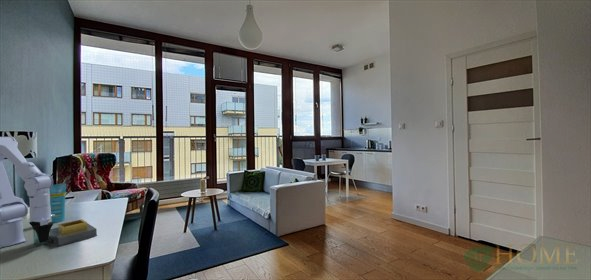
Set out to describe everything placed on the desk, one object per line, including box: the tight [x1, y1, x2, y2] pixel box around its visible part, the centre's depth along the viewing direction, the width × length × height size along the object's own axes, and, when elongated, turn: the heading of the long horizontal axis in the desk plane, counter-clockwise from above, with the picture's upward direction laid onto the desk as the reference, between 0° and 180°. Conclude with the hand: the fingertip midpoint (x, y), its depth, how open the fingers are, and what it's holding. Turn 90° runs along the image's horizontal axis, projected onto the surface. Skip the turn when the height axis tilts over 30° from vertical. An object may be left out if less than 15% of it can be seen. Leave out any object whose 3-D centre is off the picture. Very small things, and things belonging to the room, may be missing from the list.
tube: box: [49, 183, 67, 223], centre depth 130 cm, size 7×5×19 cm, turn 123°
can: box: [32, 230, 51, 247], centre depth 100 cm, size 4×4×6 cm
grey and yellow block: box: [49, 218, 98, 247], centre depth 108 cm, size 12×18×6 cm, turn 53°
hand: (41, 239), depth 100 cm, fingers open, 7 cm apart
